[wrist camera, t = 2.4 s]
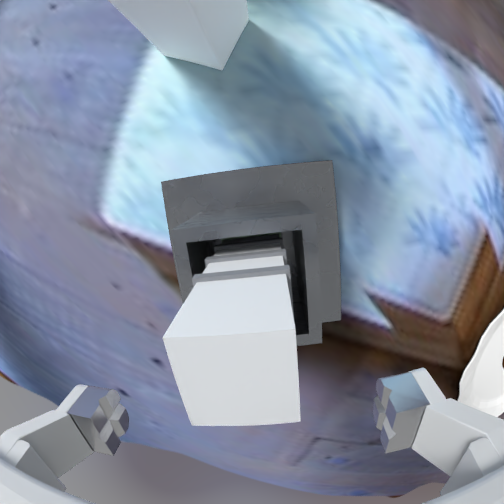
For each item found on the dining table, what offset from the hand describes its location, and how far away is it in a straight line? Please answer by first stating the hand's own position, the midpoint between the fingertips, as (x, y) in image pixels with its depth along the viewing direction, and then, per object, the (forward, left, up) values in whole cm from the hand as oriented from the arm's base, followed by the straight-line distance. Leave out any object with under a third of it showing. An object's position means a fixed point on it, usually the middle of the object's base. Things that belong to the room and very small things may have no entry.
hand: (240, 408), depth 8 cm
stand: (0, 0, -18) cm, 18 cm away
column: (0, 0, -17) cm, 17 cm away
